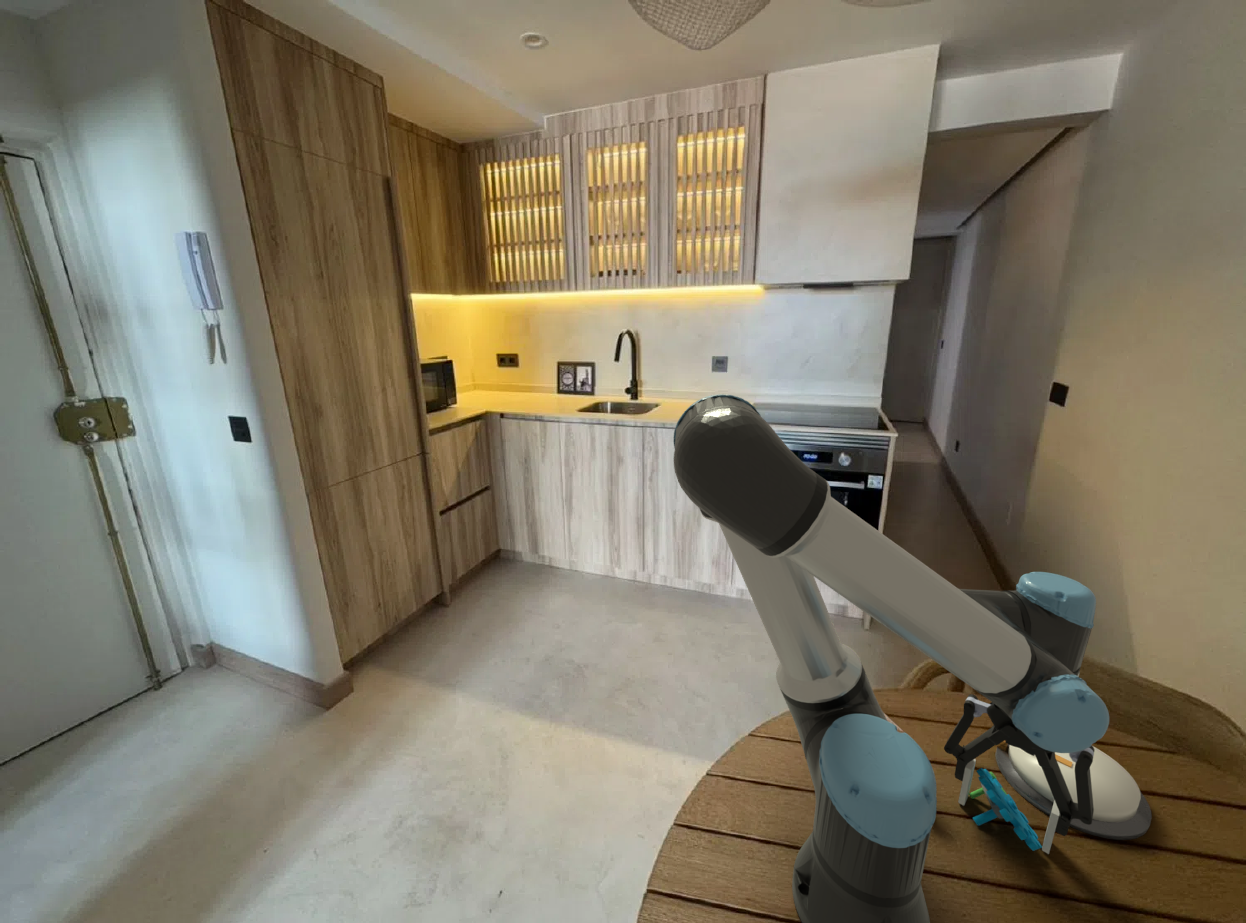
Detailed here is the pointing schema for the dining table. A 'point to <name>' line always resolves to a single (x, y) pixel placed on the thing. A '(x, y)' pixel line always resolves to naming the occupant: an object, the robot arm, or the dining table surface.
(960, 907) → the dining table surface
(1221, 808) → the dining table surface
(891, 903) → the robot arm
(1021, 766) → the dial
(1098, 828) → the dial base
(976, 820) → the gear
